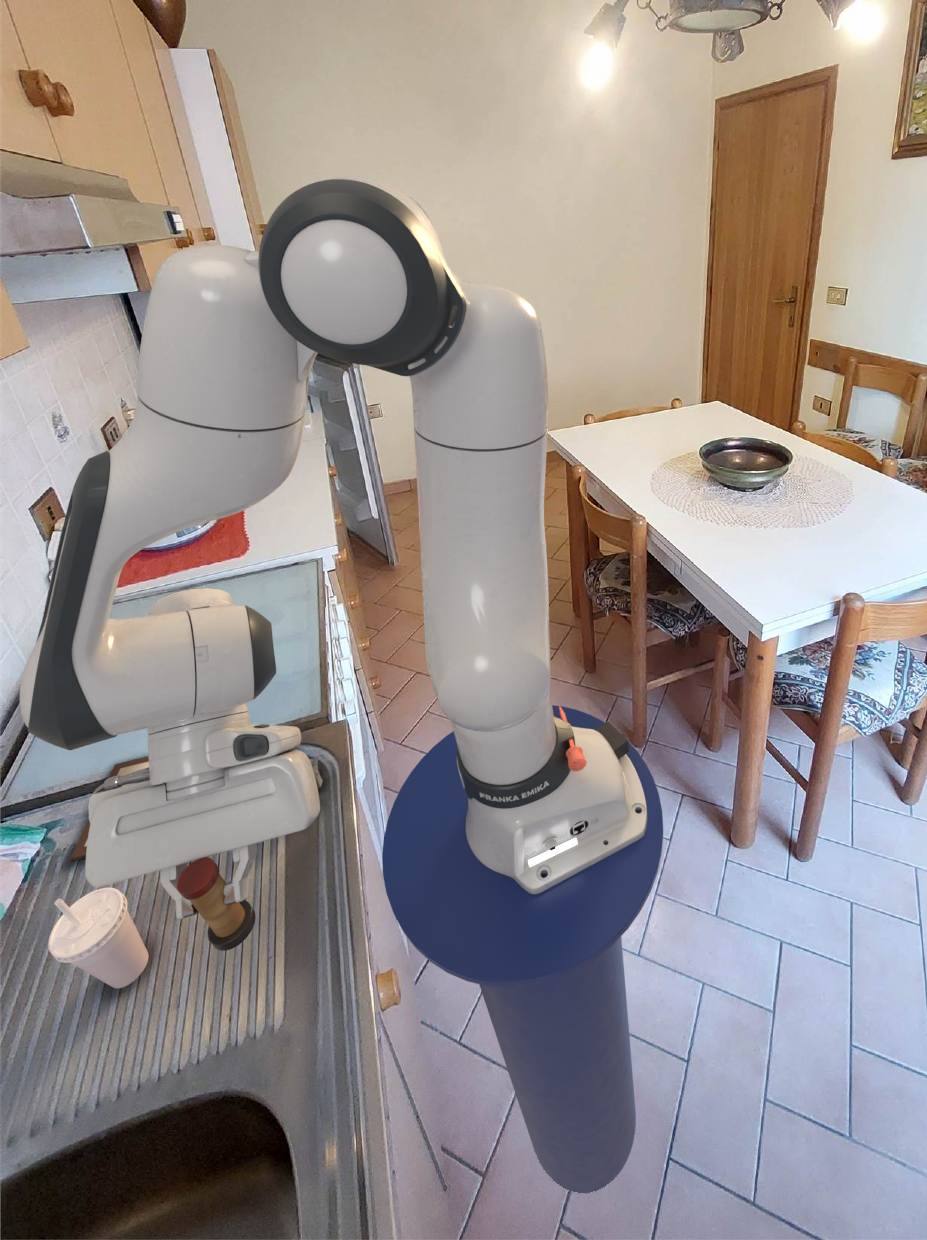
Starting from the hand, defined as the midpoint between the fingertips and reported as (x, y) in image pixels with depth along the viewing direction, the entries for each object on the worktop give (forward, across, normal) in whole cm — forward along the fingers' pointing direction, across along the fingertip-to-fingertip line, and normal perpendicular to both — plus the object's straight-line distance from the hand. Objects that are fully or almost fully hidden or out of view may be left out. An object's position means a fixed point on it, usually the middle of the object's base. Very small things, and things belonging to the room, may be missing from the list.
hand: (213, 908), depth 56 cm
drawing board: (-10, -18, +28) cm, 35 cm away
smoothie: (+6, -14, +12) cm, 20 cm away
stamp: (+3, 0, +4) cm, 5 cm away
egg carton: (-5, -2, +24) cm, 25 cm away
